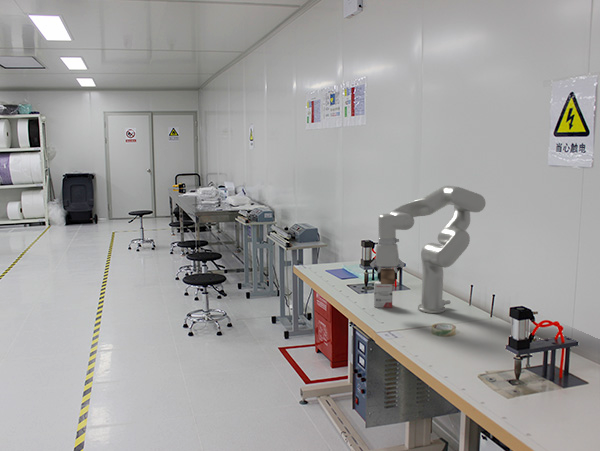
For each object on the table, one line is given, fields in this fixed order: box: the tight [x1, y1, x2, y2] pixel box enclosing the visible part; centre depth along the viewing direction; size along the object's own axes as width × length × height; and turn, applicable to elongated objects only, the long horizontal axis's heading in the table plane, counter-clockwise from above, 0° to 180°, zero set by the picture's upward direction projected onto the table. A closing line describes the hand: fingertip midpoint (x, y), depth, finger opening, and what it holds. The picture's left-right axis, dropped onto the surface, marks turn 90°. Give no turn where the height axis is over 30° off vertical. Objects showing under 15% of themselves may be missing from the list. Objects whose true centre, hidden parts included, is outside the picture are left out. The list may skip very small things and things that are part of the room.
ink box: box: [373, 281, 394, 309], centre depth 258 cm, size 9×5×12 cm, turn 84°
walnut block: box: [380, 267, 395, 285], centre depth 242 cm, size 6×6×6 cm
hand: (387, 280), depth 242 cm, fingers closed on walnut block, 6 cm apart
